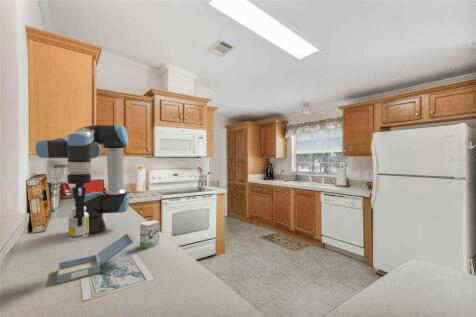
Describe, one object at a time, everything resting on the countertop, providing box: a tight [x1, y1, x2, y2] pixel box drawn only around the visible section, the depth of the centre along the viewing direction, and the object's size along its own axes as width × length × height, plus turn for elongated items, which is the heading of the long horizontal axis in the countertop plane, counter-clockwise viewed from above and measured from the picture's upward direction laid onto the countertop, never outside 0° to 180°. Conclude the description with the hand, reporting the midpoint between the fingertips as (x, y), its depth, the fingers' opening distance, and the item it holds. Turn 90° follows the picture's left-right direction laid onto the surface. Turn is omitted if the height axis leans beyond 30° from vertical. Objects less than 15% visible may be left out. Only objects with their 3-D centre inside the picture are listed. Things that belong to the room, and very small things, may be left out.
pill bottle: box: [68, 206, 90, 240], centre depth 88 cm, size 6×6×12 cm
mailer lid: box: [97, 231, 135, 266], centre depth 96 cm, size 12×14×2 cm
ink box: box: [139, 219, 160, 249], centre depth 115 cm, size 9×5×12 cm, turn 155°
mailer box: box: [56, 254, 101, 285], centre depth 88 cm, size 12×13×3 cm
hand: (79, 231), depth 88 cm, fingers closed on pill bottle, 6 cm apart
